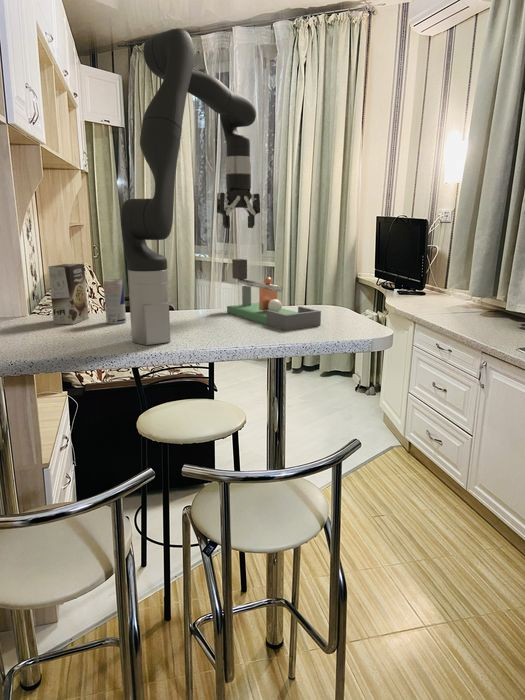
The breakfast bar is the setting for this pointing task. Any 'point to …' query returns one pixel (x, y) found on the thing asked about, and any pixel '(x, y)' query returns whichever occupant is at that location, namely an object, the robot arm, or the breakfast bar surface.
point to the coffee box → (68, 293)
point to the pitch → (275, 314)
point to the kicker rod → (255, 283)
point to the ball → (275, 305)
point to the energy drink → (114, 301)
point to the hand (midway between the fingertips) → (239, 228)
